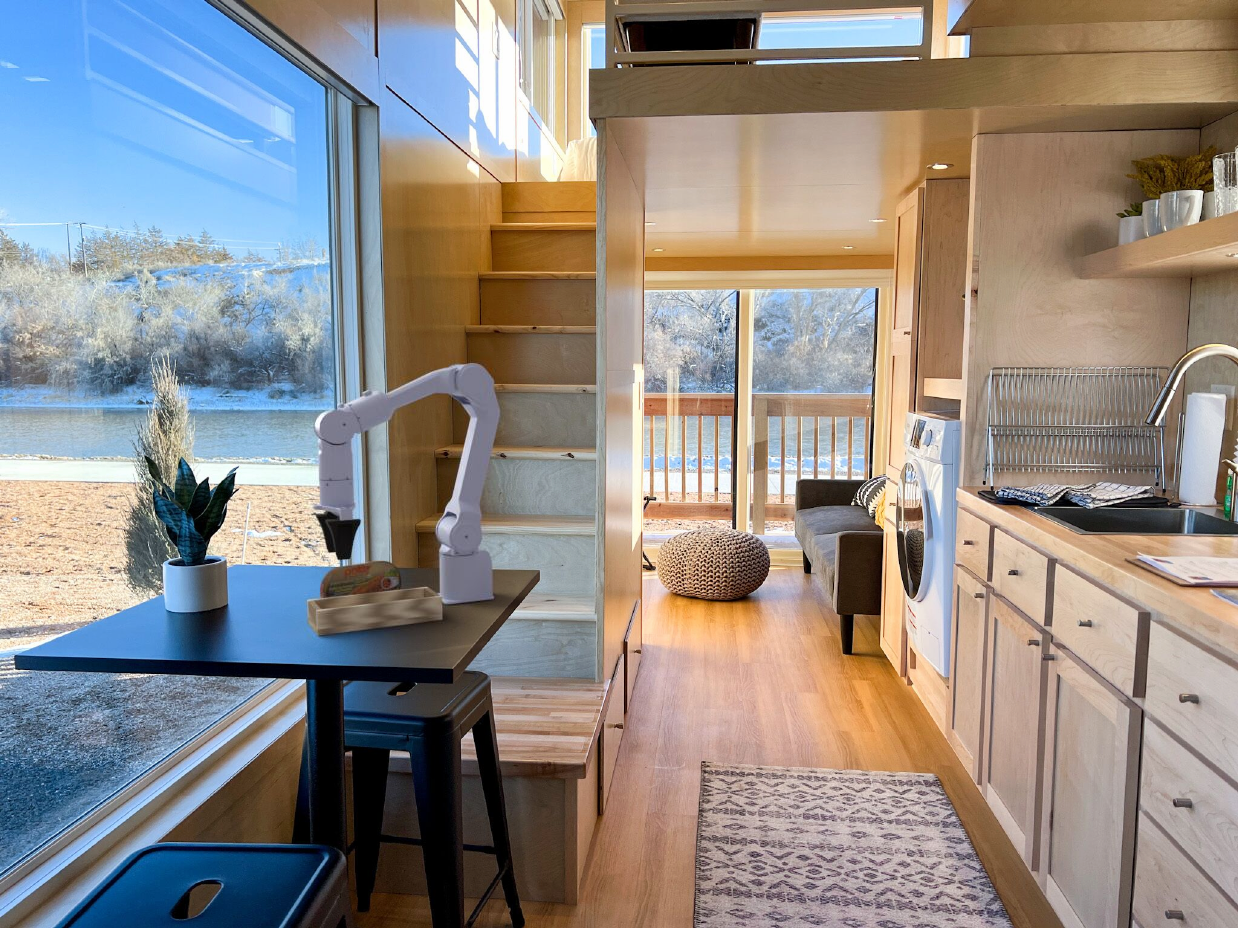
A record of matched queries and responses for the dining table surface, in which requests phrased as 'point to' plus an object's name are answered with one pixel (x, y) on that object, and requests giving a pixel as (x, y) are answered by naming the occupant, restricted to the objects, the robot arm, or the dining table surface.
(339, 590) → the tin
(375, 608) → the crate
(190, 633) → the dining table surface
